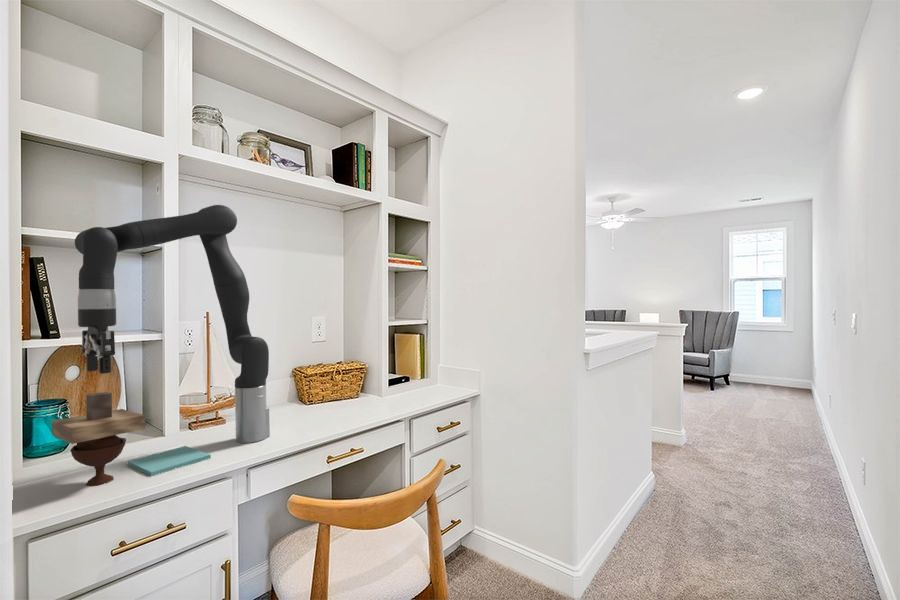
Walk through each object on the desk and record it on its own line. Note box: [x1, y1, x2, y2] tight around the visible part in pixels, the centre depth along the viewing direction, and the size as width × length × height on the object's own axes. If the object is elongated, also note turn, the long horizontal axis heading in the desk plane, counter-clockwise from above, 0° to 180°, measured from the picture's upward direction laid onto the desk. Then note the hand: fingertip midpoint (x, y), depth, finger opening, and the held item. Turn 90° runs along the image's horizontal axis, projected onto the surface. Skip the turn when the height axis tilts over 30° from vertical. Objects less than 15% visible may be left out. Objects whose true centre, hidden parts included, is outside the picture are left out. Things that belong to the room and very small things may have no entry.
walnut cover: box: [51, 391, 146, 445], centre depth 111 cm, size 15×15×10 cm
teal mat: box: [127, 445, 211, 477], centre depth 124 cm, size 15×15×1 cm
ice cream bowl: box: [70, 435, 127, 487], centre depth 111 cm, size 11×11×15 cm
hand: (98, 372), depth 111 cm, fingers open, 8 cm apart
